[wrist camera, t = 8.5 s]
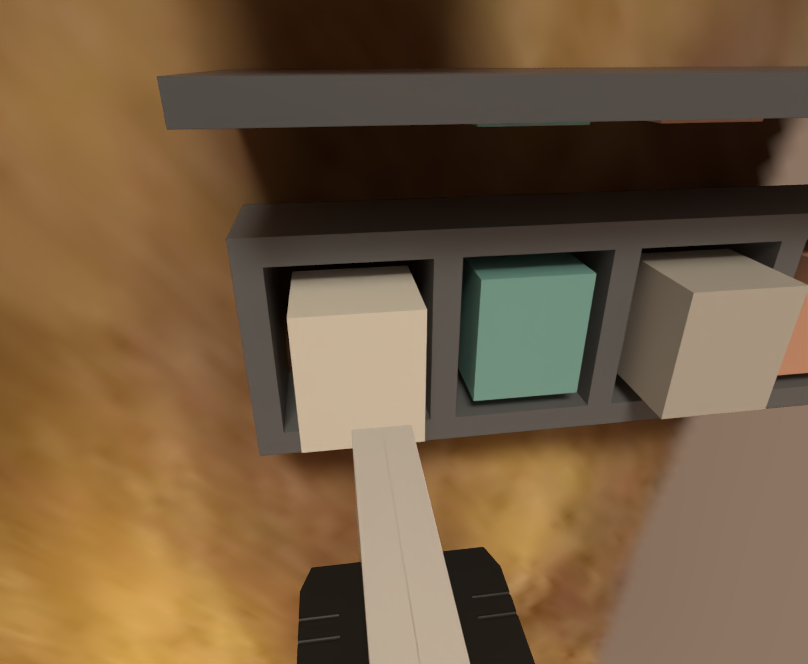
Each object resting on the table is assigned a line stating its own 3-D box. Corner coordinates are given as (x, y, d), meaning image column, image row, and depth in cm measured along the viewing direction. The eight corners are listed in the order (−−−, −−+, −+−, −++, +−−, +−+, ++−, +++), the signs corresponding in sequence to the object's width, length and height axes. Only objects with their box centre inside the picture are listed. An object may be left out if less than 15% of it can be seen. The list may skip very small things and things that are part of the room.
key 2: (450, 351, 24) (473, 401, 21) (455, 244, 22) (481, 280, 19) (539, 345, 25) (576, 392, 21) (552, 240, 23) (596, 273, 19)
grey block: (609, 364, 23) (661, 419, 20) (630, 253, 21) (693, 292, 18) (698, 357, 24) (765, 409, 20) (729, 248, 22) (809, 285, 18)
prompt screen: (230, 108, 19) (169, 142, 11) (224, 69, 19) (156, 76, 11) (897, 99, 23) (1208, 119, 15) (909, 65, 22) (1241, 68, 14)
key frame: (269, 392, 25) (259, 456, 21) (243, 205, 21) (225, 238, 17) (803, 350, 28) (883, 397, 24) (866, 182, 24) (973, 206, 20)
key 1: (304, 389, 22) (301, 453, 18) (292, 271, 19) (286, 318, 16) (407, 380, 22) (424, 441, 19) (407, 265, 20) (427, 309, 16)
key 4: (714, 332, 26) (777, 375, 22) (744, 231, 24) (818, 261, 20) (793, 326, 27) (866, 367, 23) (828, 227, 24) (915, 255, 21)
